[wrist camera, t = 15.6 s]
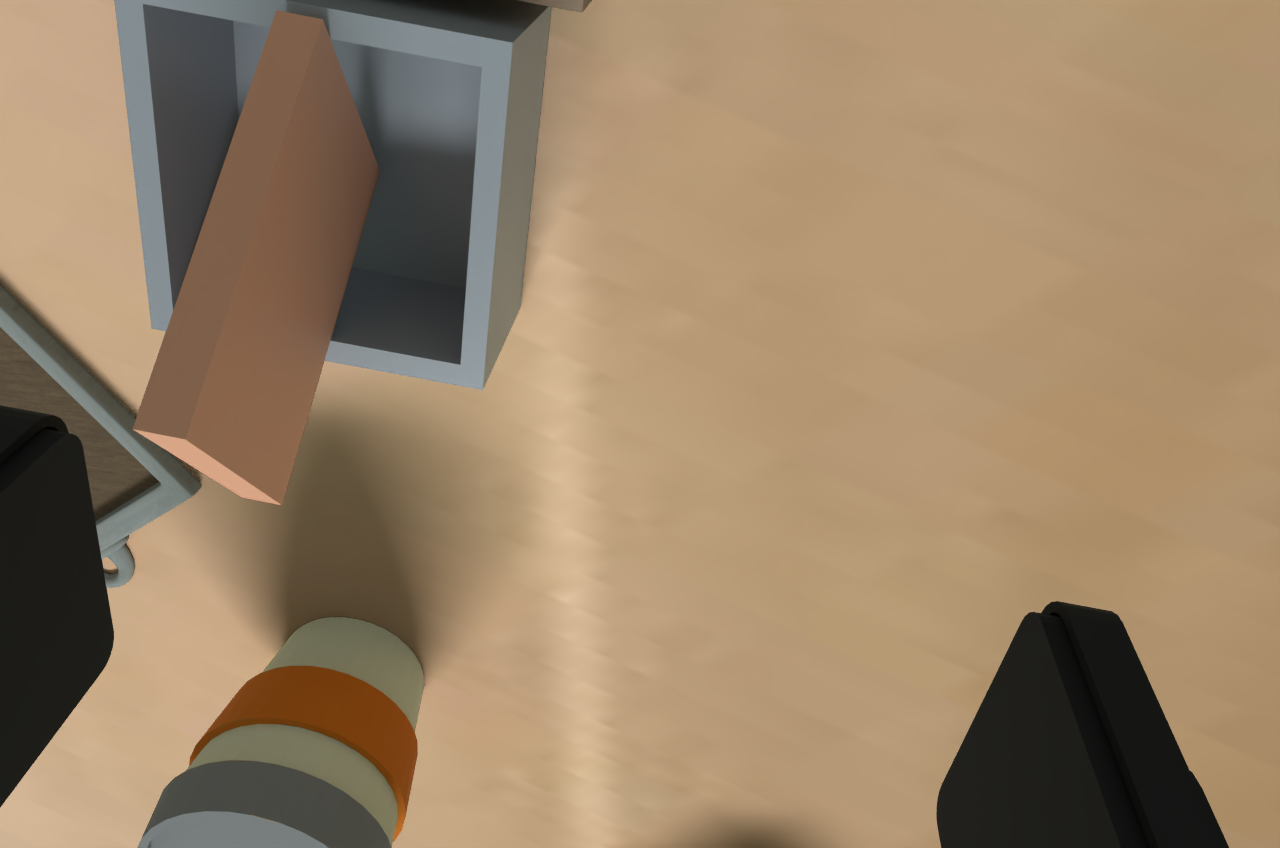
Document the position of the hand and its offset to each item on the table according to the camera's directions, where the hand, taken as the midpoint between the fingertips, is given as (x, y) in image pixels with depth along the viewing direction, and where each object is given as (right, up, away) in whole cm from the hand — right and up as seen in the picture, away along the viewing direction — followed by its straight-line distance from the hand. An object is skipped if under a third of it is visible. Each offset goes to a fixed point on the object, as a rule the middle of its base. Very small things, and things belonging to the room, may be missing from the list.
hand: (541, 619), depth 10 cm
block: (-11, +14, +29) cm, 34 cm away
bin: (-11, +15, +35) cm, 39 cm away
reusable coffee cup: (-17, -13, +53) cm, 57 cm away
